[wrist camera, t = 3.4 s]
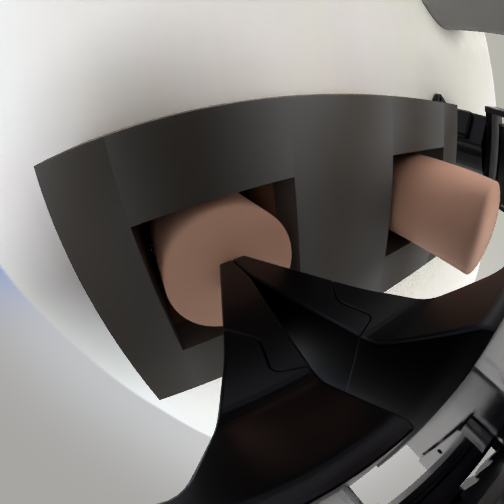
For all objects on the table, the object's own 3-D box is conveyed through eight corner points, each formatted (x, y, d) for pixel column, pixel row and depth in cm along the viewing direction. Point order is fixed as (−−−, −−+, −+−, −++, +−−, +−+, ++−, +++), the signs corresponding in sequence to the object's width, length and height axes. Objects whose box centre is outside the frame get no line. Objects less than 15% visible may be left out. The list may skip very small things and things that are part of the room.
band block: (372, 94, 16) (457, 105, 10) (373, 216, 21) (441, 252, 16) (78, 145, 10) (33, 166, 5) (138, 306, 16) (159, 400, 10)
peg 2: (406, 142, 13) (504, 175, 8) (402, 210, 16) (486, 254, 10) (356, 150, 12) (479, 190, 7) (356, 229, 14) (453, 290, 9)
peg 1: (218, 159, 13) (286, 189, 8) (232, 234, 16) (294, 297, 11) (134, 184, 12) (143, 234, 7) (159, 260, 14) (187, 343, 9)
